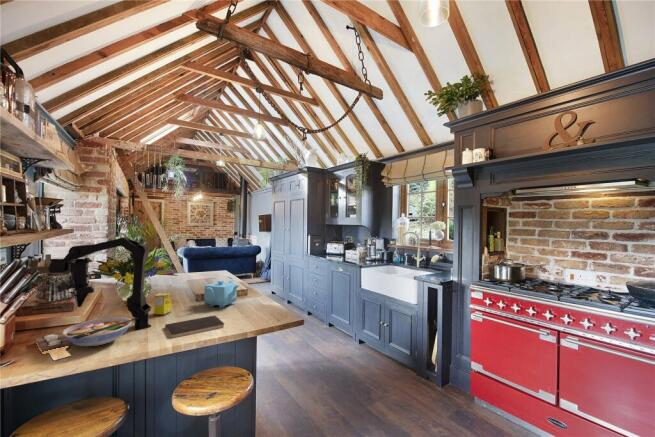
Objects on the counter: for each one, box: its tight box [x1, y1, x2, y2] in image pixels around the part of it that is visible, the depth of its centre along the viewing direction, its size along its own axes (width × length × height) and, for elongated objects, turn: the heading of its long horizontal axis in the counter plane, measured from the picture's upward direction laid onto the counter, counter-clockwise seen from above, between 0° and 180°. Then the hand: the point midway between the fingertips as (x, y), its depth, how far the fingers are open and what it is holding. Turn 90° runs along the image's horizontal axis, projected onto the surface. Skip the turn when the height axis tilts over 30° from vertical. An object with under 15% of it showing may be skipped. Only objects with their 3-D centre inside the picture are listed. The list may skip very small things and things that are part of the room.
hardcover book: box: [164, 315, 225, 339], centre depth 142 cm, size 16×23×2 cm
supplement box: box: [153, 292, 172, 317], centre depth 162 cm, size 6×6×11 cm
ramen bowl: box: [62, 316, 138, 347], centre depth 123 cm, size 25×23×8 cm
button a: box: [49, 340, 61, 346], centre depth 118 cm, size 3×3×2 cm
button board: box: [34, 332, 71, 352], centre depth 121 cm, size 17×8×2 cm, turn 52°
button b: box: [46, 335, 58, 343], centre depth 121 cm, size 3×3×2 cm
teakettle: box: [203, 279, 241, 309], centre depth 179 cm, size 19×19×15 cm
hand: (79, 306), depth 136 cm, fingers closed
